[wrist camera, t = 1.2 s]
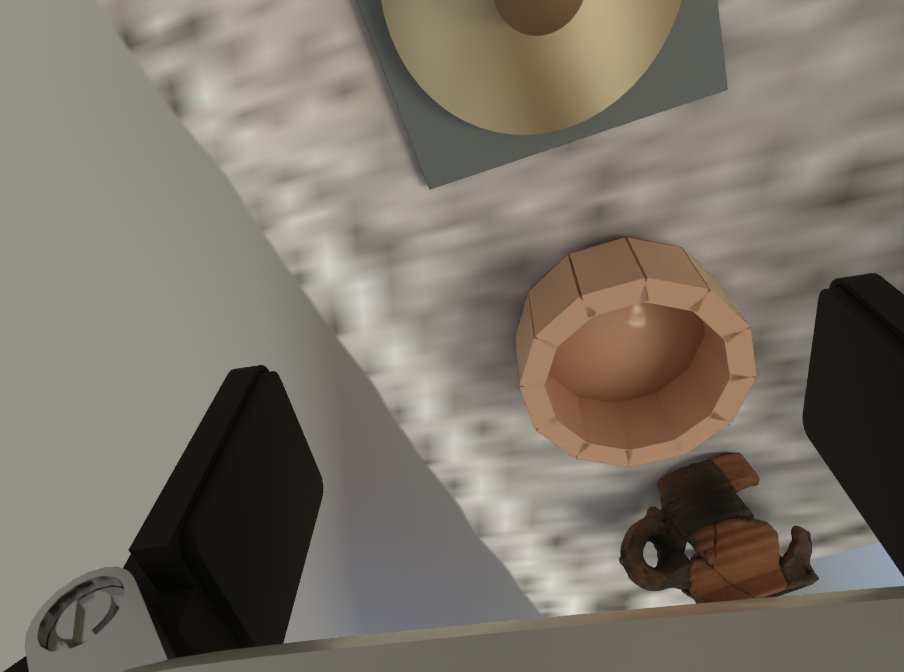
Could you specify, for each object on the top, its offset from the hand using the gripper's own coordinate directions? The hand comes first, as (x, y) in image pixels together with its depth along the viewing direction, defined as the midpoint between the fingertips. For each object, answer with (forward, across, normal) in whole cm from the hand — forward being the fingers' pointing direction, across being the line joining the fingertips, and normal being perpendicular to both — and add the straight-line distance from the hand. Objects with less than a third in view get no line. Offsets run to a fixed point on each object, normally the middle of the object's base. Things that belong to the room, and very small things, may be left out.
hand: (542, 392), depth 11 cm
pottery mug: (+21, -9, +28) cm, 36 cm away
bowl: (+21, -5, +12) cm, 25 cm away
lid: (+20, -2, -5) cm, 21 cm away
